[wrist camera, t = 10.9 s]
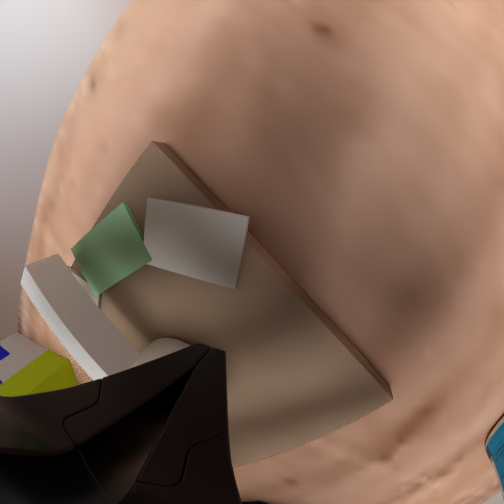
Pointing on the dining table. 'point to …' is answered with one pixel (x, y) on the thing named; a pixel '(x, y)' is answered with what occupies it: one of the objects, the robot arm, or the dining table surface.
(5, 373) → the puzzle toy
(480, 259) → the dining table surface
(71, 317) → the lever
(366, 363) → the board
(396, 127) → the dining table surface
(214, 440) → the robot arm
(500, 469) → the beverage bottle
